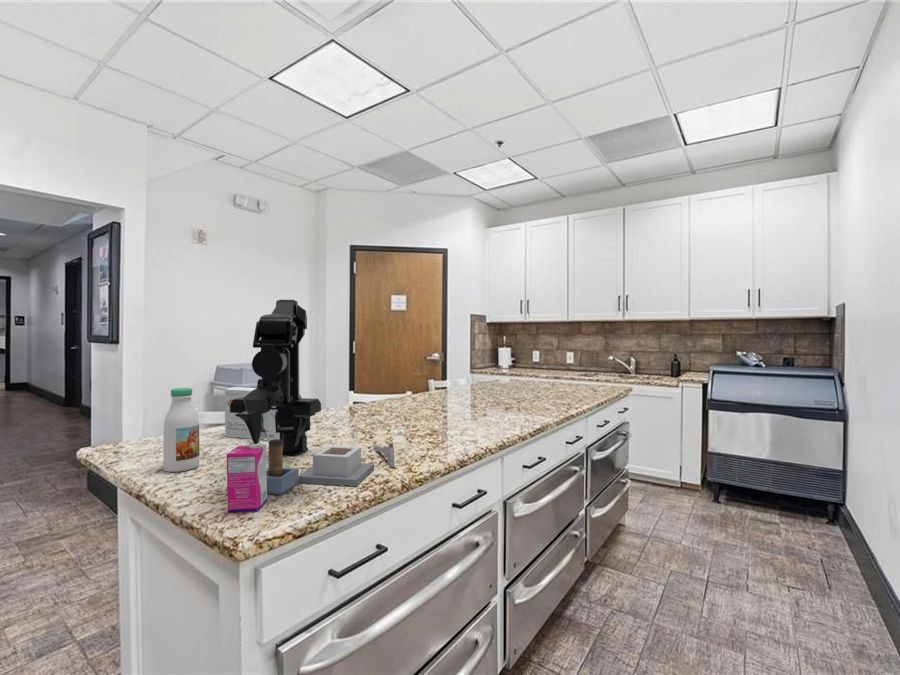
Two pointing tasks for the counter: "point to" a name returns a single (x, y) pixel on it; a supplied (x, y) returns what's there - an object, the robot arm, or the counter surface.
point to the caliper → (387, 452)
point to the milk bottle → (181, 433)
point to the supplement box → (246, 478)
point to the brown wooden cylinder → (275, 457)
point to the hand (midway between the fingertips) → (275, 444)
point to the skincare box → (237, 425)
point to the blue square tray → (282, 481)
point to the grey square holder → (337, 467)
